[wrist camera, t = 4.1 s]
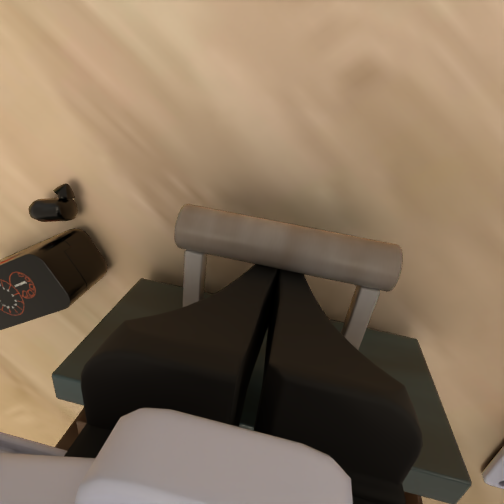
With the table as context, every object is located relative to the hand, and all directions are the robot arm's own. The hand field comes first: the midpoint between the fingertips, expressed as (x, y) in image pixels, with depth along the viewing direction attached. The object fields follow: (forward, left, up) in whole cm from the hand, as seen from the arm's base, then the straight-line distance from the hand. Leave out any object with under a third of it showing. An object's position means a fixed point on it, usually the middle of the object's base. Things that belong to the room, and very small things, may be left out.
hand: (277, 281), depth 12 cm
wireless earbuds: (+11, +3, -3) cm, 12 cm away
